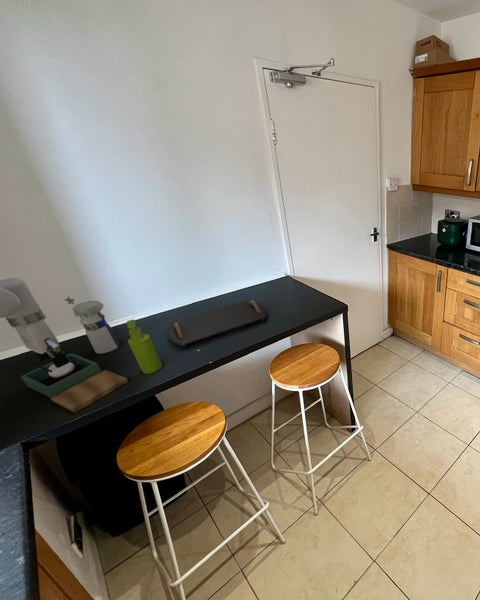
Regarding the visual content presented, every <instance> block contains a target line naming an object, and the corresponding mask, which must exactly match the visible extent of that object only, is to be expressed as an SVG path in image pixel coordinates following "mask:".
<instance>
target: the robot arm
mask: <svg viewBox="0 0 480 600" xmlns="http://www.w3.org/2000/svg"><path fill="white" fill-rule="evenodd" d="M1 318H5V319H6V321H7V323H8V324H9V325H10V327H11V328H13V329H15V330H16V332H17V335H18V336H19V338H20V339H21V341H22V342H23V345H24V346H25V348H26V349H27V350H29V351H32V352H34V353H35V355H36V357H37V358H38V359H39V361H41V362H44V361H47V360H48V359H50V360H51V362H53V363H54V365H55V366H56V367H57V368H59V367H62V366H64V365H66V364H68V363H69V361H68V359H67V357H66V356H67V355H66V354H65V352H64V351H63V349H62V348H61V347H60V342H59V340H58V338H57V336H55V334H54V333H53V331H52V330H51V328H50V327H49V325H48V324H47V322H46V321H45V320H46V319H47V316H46V314H45V312H44V311H43V309H42V308H41V306H40V304H39V302H38V301H37V300H36V298H35V296H34V294H33V293H32V291H31V290H30V288H29V285H27V283H26V281H25V280H23V279H21V278H18V277H16V278H15V277H12V278H11V277H10V278H5V279H0V319H1Z"/></svg>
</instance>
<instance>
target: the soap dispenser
mask: <svg viewBox="0 0 480 600" xmlns="http://www.w3.org/2000/svg"><path fill="white" fill-rule="evenodd" d="M126 325H127V329H128V334H129V337H130V338H129V339H128V340H127V343H128V345H129V347H130V349H131V351H132V353H133V355H134V358H135V360H136V362H137V364H138V365H139V366H138V367H139V368H140V370H141V372H142V373H143V374H145V375H147V374H152V373H156V372H157V371H159V370H160V369H161V368H163V363H162V361H161V359H160V357H159V354H158V352H157V350H156V348H155V346H154V343H153V341H152V339H151V336H150V334H148V333H144V332H143V330H142V328H141V327H140V326H137V325H136V321H135V319H130V320H127V321H126Z"/></svg>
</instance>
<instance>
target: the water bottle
mask: <svg viewBox="0 0 480 600" xmlns="http://www.w3.org/2000/svg"><path fill="white" fill-rule="evenodd" d="M64 301H65V302H67V303H68V305H69V306H70V305H74V306H73V307H72V311H73V314H74V316H75V318H78V319H79V318H80V321H79V322H80V323H79V324H81V325H83V328H84V329H85V335H86V336H87V339H88V340H89V342H90V344H91V347H92V349H93V350H94V353H95V354H107V353H109V352H113V351H114V350H116V349H118V348H119V347H120V345H121V343H120V342H119V339H118V338H117V336H116V334H115V333H114V331H113V329H112V327H111V326H110V324H109V323H107V321H106V319H105V318H106V317H105V314H103V313H101V311H102V309H103V308H104V306H105V305H104V304H103V303H102V302H100V301H99V300H88V301H83V302H81V303H78V304H75V302H74V301H75V298H71V297H70V296H67V298H65V299H64Z"/></svg>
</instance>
